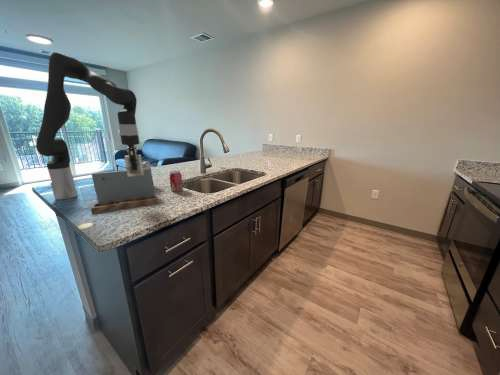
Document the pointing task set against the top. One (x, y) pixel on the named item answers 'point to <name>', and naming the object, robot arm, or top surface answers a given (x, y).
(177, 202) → the top surface
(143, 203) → the notched ledge
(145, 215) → the top surface
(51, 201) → the top surface
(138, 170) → the picture frame
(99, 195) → the wall panel
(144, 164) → the candy bar box
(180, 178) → the soda can
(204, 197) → the top surface
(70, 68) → the robot arm
